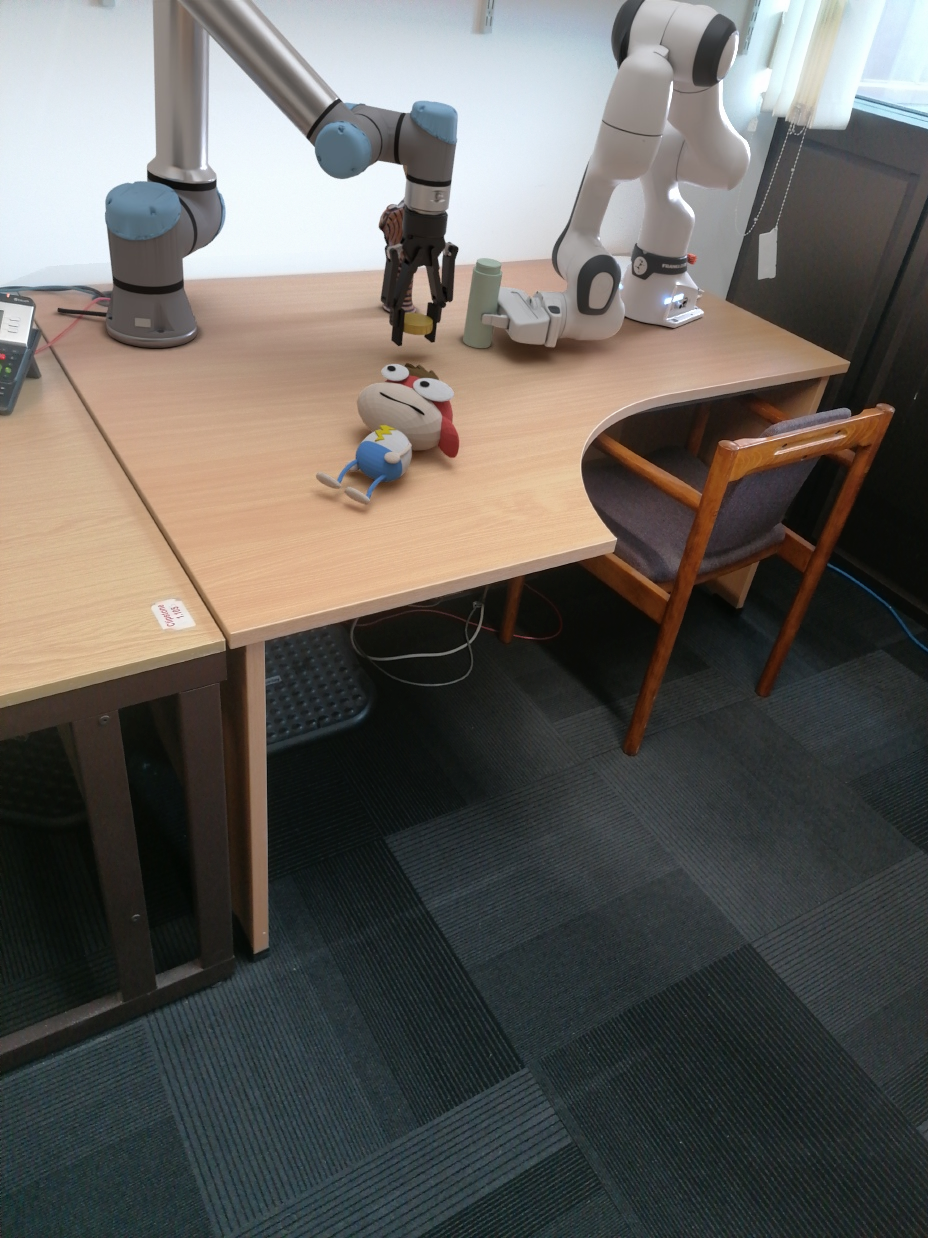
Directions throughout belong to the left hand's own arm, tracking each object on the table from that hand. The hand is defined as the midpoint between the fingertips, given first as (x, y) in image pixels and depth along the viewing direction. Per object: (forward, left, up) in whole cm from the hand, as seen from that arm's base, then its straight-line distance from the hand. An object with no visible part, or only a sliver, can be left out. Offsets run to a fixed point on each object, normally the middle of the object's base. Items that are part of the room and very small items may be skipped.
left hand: (413, 340), depth 163 cm
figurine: (-10, +22, -3) cm, 24 cm away
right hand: (+8, +15, +3) cm, 17 cm away
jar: (+8, +15, -3) cm, 18 cm away
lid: (0, 0, +4) cm, 4 cm away
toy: (+10, -38, -3) cm, 40 cm away
